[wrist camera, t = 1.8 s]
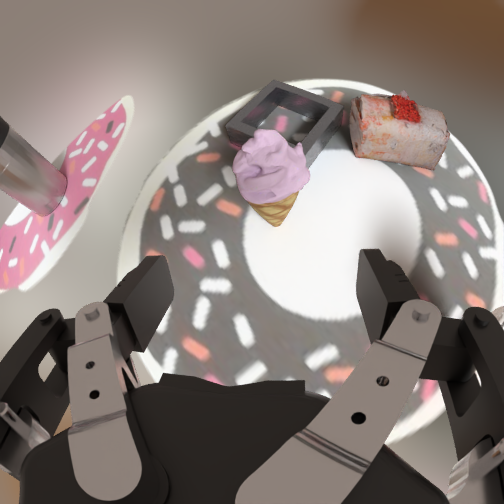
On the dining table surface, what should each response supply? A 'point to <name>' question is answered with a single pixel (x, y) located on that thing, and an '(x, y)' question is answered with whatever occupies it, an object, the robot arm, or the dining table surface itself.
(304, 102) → the hollow square frame
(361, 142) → the food item
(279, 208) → the ice cream cone
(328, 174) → the dining table surface
